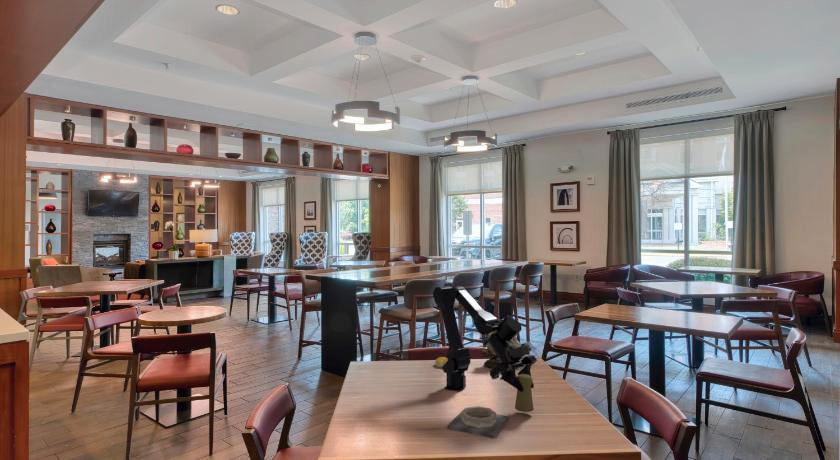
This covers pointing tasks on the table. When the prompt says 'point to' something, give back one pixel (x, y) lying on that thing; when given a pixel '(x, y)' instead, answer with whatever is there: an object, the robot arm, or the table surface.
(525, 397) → the cork
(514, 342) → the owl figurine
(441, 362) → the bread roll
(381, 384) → the table surface
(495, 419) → the socket
